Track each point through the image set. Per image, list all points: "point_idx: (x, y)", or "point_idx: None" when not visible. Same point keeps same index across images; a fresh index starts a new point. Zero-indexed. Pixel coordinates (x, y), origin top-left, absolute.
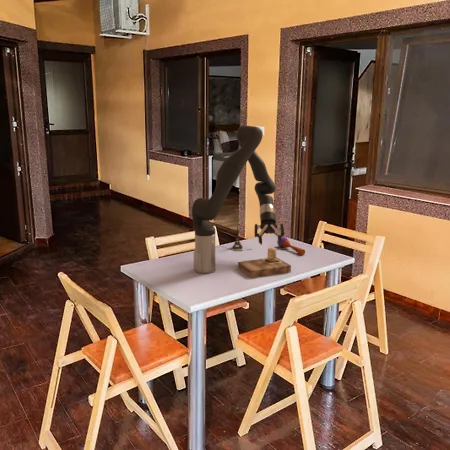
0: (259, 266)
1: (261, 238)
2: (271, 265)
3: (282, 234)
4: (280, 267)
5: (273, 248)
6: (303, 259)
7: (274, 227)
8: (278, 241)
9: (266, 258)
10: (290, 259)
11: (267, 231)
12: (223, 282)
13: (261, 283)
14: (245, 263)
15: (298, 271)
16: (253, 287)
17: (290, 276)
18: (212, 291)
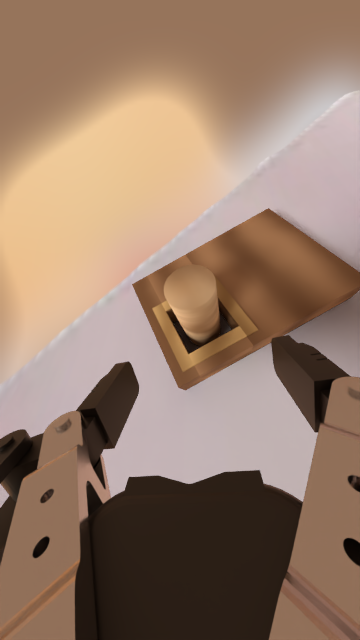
0: (246, 250)
1: (298, 357)
2: None
3: (32, 442)
4: (169, 265)
5: (180, 293)
6: None
7: (11, 587)
8: (126, 376)
9: (227, 356)
10: (112, 458)
11: (233, 478)
12: (341, 180)
13: (227, 204)
14: (319, 269)
15: (119, 304)
16: (244, 182)
17: (149, 262)
18: (343, 137)
